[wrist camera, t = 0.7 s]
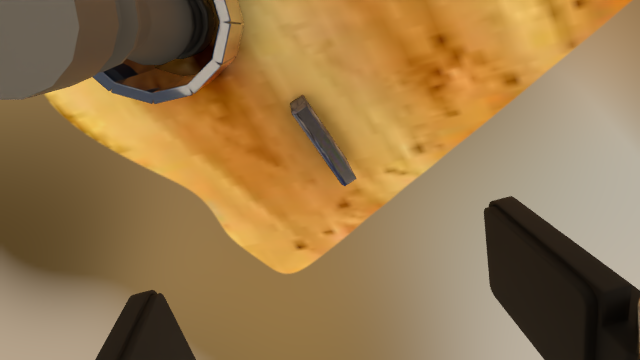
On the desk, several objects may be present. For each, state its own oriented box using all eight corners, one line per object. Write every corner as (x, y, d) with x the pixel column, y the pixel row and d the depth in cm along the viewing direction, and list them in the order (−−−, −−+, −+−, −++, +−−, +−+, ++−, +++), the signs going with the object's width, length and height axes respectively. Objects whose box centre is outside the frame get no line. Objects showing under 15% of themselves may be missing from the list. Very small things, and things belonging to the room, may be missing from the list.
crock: (94, -33, 33) (20, -58, 23) (220, -63, 33) (197, -99, 23) (144, 95, 37) (98, 117, 27) (256, 68, 37) (248, 81, 28)
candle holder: (142, 49, 35) (-124, 88, 12) (145, -26, 33) (-168, -150, 10) (211, 63, 36) (88, 124, 13) (219, -9, 34) (88, -86, 11)
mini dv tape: (290, 103, 38) (291, 115, 33) (302, 94, 38) (306, 105, 33) (334, 166, 41) (342, 188, 36) (346, 158, 41) (356, 179, 35)
